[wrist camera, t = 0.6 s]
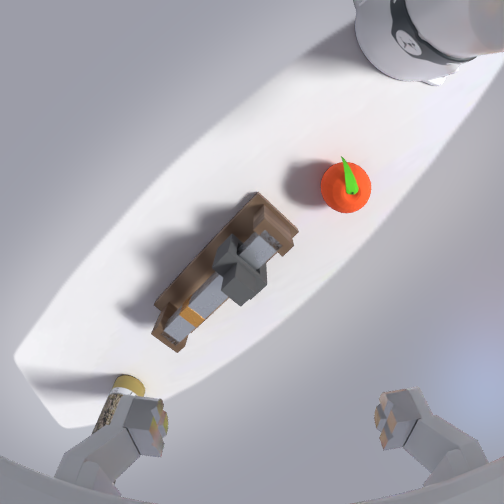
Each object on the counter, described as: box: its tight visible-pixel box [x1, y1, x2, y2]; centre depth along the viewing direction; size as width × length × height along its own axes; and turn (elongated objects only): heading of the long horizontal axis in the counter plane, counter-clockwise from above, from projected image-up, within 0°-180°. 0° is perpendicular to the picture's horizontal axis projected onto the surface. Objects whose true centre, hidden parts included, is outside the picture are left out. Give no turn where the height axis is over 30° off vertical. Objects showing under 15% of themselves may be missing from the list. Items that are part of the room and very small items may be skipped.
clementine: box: [321, 156, 371, 213], centre depth 42 cm, size 8×7×7 cm
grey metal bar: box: [162, 230, 282, 345], centre depth 44 cm, size 22×3×3 cm, turn 137°
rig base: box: [151, 192, 299, 353], centre depth 46 cm, size 25×8×8 cm, turn 137°
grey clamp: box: [212, 234, 267, 306], centre depth 41 cm, size 3×6×10 cm, turn 47°
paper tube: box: [92, 375, 145, 484], centre depth 50 cm, size 7×7×25 cm
